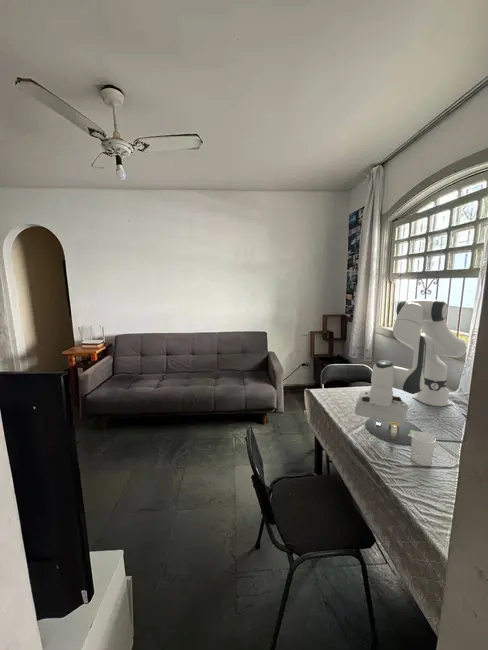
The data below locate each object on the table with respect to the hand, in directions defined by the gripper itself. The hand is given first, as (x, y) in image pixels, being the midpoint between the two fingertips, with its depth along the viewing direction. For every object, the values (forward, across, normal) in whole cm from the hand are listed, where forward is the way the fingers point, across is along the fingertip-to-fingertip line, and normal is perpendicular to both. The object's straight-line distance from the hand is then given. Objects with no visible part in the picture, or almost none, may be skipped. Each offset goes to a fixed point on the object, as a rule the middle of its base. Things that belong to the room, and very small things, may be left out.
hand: (378, 427), depth 124 cm
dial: (+5, -7, -11) cm, 14 cm away
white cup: (+5, -15, +10) cm, 19 cm away
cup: (+5, -8, -31) cm, 32 cm away
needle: (+4, -7, -6) cm, 9 cm away
